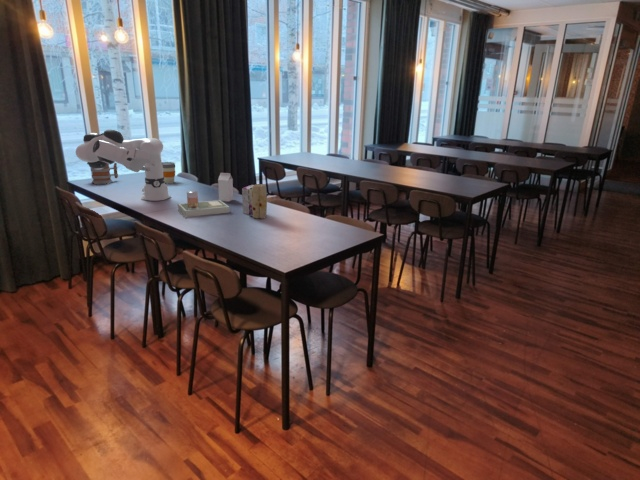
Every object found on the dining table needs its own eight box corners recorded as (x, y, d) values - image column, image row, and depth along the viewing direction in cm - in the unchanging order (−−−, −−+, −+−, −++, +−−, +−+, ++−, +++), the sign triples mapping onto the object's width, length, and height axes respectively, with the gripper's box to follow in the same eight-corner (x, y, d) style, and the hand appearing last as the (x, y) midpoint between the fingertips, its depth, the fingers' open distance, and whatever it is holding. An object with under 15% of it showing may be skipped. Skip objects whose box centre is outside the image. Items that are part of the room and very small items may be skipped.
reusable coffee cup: (161, 180, 339) (160, 162, 334) (178, 181, 340) (176, 162, 336) (157, 183, 327) (156, 164, 322) (174, 184, 329) (173, 164, 324)
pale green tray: (178, 211, 256) (177, 203, 254) (220, 207, 268) (220, 200, 267) (185, 218, 241) (185, 211, 240) (229, 214, 254) (229, 206, 252)
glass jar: (187, 211, 252) (185, 191, 249) (197, 210, 255) (195, 190, 252) (189, 213, 247) (188, 193, 244) (200, 212, 250) (198, 192, 247)
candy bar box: (251, 210, 263) (250, 184, 258) (258, 211, 261) (258, 185, 256) (242, 214, 253) (241, 187, 248) (249, 216, 251) (249, 188, 246)
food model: (262, 215, 253) (262, 182, 247) (269, 218, 249) (269, 184, 242) (249, 218, 247) (248, 184, 240) (256, 220, 242) (255, 186, 236)
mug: (89, 182, 324) (86, 162, 319) (115, 179, 337) (113, 160, 332) (95, 185, 315) (93, 165, 310) (122, 182, 328) (120, 162, 323)
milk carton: (229, 203, 279) (228, 174, 273) (218, 202, 280) (217, 173, 274) (233, 200, 285) (232, 172, 279) (223, 199, 287) (222, 171, 281)
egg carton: (208, 208, 260) (207, 201, 259) (217, 207, 263) (217, 201, 262) (212, 212, 252) (212, 205, 251) (222, 211, 255) (222, 204, 254)
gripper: (120, 169, 234) (145, 178, 242) (131, 155, 219) (157, 165, 227) (122, 159, 236) (147, 168, 244) (133, 145, 221) (160, 155, 229)
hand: (152, 167), depth 236 cm, fingers open, 8 cm apart
